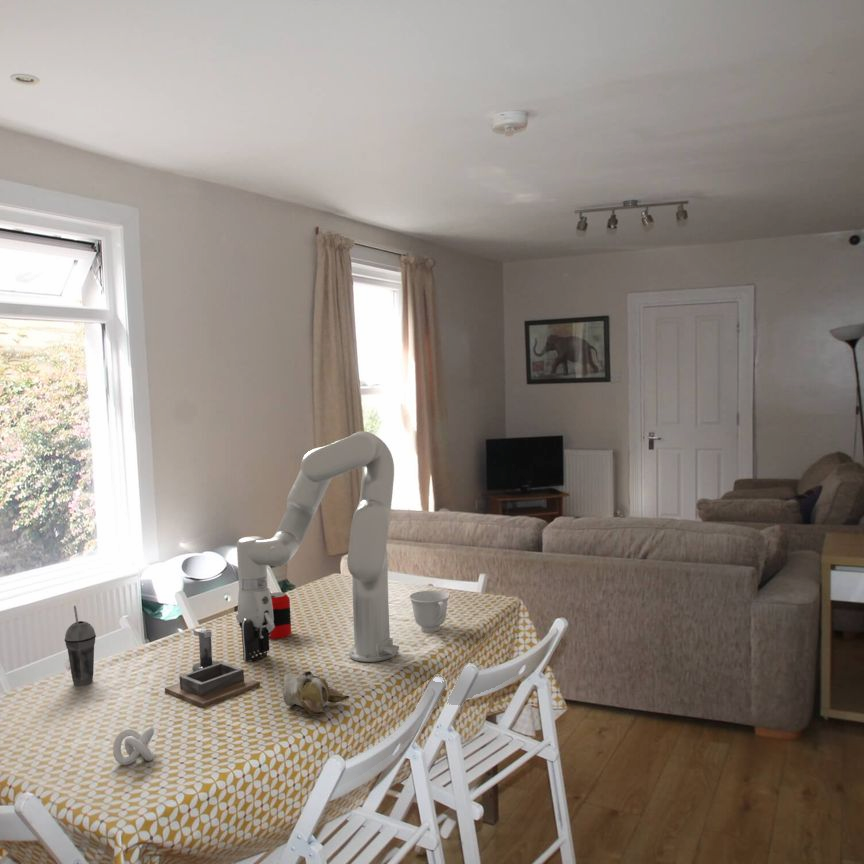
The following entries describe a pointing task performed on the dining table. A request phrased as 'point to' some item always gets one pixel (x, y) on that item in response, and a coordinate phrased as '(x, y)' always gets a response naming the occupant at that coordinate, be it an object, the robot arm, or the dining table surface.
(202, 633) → the post
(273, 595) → the soda can
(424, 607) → the teacup
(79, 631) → the beverage cup
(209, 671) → the holder
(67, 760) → the dining table surface
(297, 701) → the ceramic sculpture
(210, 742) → the dining table surface
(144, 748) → the knot
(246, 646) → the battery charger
